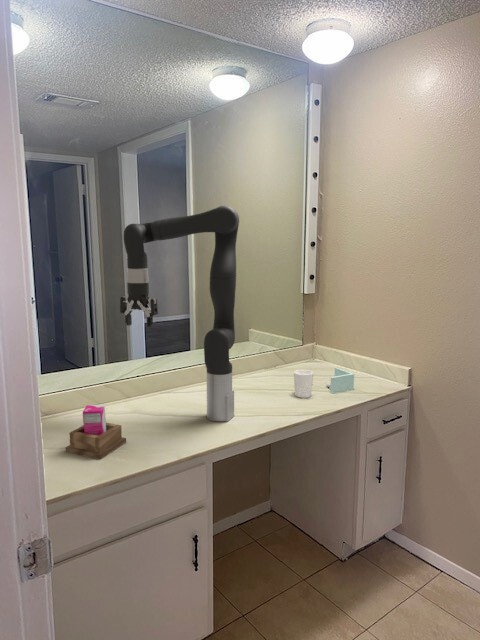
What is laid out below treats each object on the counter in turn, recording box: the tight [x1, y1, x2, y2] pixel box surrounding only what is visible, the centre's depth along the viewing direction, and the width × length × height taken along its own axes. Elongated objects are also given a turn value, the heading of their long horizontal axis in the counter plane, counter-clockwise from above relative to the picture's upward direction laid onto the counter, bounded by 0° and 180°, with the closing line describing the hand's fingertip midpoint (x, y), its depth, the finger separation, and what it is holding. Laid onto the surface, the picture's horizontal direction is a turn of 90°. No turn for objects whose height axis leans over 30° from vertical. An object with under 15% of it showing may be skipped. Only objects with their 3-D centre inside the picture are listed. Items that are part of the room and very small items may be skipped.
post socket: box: [64, 422, 127, 460], centre depth 151 cm, size 13×13×6 cm
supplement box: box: [82, 404, 107, 436], centre depth 151 cm, size 6×6×12 cm
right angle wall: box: [325, 367, 355, 394], centre depth 213 cm, size 12×12×8 cm
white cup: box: [293, 369, 314, 399], centre depth 202 cm, size 8×8×10 cm
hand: (139, 326), depth 175 cm, fingers open, 8 cm apart
